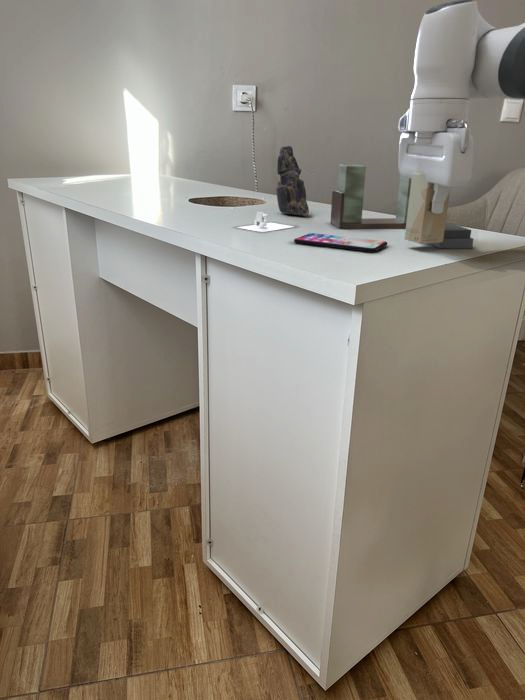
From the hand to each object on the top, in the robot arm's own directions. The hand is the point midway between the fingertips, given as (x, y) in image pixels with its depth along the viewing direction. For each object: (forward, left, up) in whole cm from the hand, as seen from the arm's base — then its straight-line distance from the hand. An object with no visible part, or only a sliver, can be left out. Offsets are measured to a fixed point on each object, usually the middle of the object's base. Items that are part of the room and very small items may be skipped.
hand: (427, 210), depth 92 cm
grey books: (-6, -4, -6) cm, 10 cm away
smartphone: (+13, -4, -7) cm, 15 cm away
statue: (+14, -41, -7) cm, 44 cm away
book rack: (-1, -24, -6) cm, 25 cm away
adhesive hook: (+23, -23, -7) cm, 34 cm away
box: (0, 0, -5) cm, 5 cm away
